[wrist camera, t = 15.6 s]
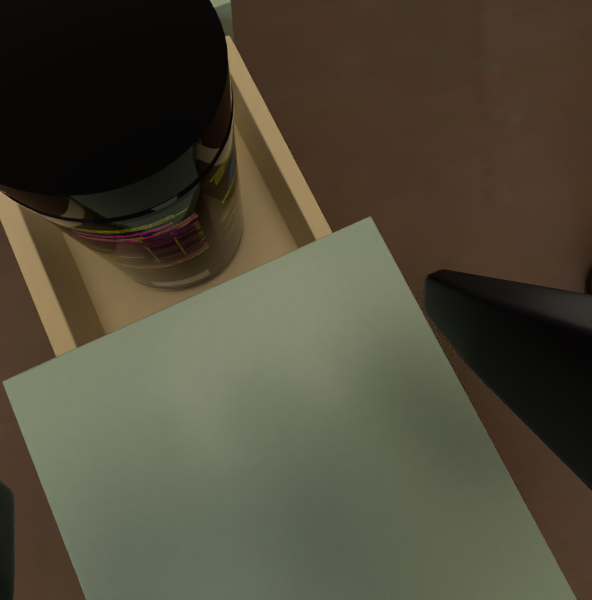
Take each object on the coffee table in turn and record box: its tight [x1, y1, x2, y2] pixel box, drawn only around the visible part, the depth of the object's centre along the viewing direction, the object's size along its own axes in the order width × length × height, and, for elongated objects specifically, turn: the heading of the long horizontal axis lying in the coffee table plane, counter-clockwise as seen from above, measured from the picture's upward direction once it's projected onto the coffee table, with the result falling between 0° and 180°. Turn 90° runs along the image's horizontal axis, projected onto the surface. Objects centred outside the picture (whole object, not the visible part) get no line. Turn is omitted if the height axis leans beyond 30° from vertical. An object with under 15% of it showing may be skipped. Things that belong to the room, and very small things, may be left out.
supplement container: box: [0, 0, 244, 290], centre depth 13 cm, size 7×7×10 cm
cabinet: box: [3, 217, 577, 600], centre depth 16 cm, size 17×14×7 cm
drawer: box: [0, 0, 332, 357], centre depth 18 cm, size 20×13×5 cm, turn 26°
